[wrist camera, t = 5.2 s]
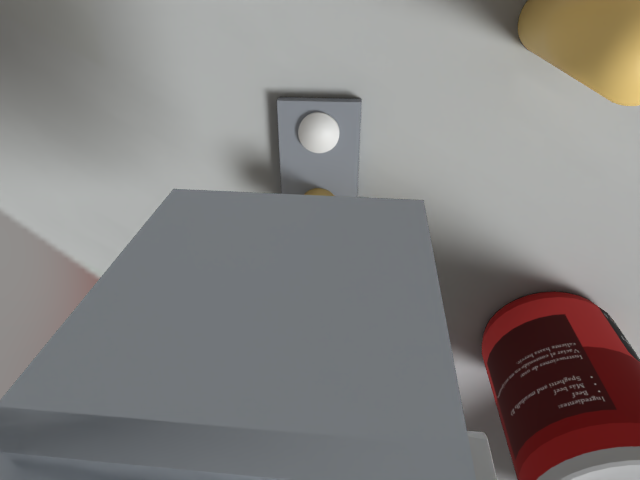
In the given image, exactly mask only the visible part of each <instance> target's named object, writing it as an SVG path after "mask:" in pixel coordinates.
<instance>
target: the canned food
mask: <svg viewBox="0 0 640 480" xmlns="http://www.w3.org/2000/svg"><path fill="white" fill-rule="evenodd" d="M482 356H483V360H484V363H485V367H486V370H487V374H488V377H489V381H490V384H491V388H492V391H493V395H494V398H495V402H496V405H497V409H498V412H499V416H500V419H501V423H502V426H503V430H504V433H505V437H506V440H507V444H508V447H509V451H510V454H511V458H512V461H513V465H514V468H515V472H516V475H517V479H518V480H640V359H639V357H638V356H637V354H636V353H635V351H634V350H633V348H632V347H631V345H630V344H629V342H628V341H627V340H626V338H625V337H624V335H623V334H622V332H621V331H620V329H619V328H618V326H617V325H616V323H615V322H614V320H613V319H612V318H611V317H610V316H609V315H608V313H607V312H605V311H604V310H602V309H601V308H600V307H598V306H597V305H595V304H594V303H592V302H591V301H590V300H588V299H585V298H583V297H581V296H579V295H574V294H570V293H564V292H542V293H536V294H532V295H527V296H525V297H522V298H519V299H516V300H514V301H513V302H511V303H509V304H507V305H505V306H504V307H503V308H501V309H500V310H499V311H498V312H496V314H495V315H494V316H493V317H492V318H491V319H490V320H489V322H488V324H487V326H486V328H485V331H484V334H483V340H482Z"/></svg>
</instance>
